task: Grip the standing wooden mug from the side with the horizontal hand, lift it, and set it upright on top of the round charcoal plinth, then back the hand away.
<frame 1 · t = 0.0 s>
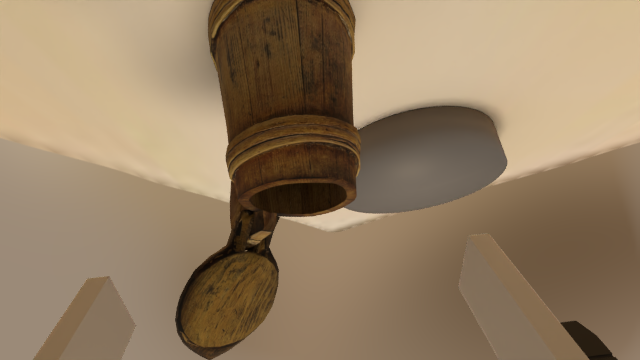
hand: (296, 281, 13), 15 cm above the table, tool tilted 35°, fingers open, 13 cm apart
wooden mug: (261, 53, 23), on the table
charcoal plinth: (409, 154, 39), on the table
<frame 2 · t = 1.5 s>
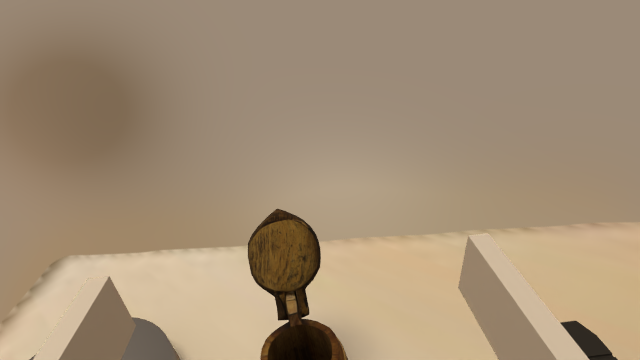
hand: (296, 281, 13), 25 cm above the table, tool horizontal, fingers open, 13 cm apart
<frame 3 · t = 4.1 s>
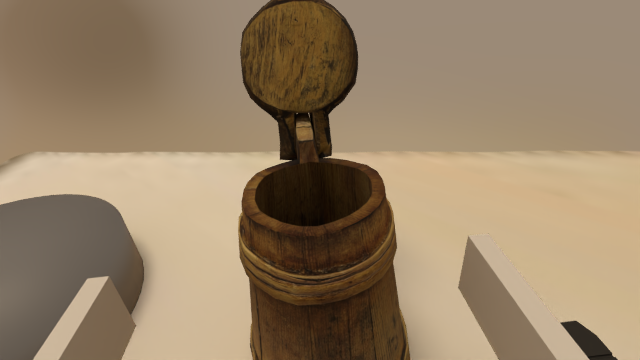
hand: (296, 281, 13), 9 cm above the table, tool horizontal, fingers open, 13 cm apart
wooden mug: (326, 314, 22), on the table
charcoal plinth: (1, 319, 23), on the table
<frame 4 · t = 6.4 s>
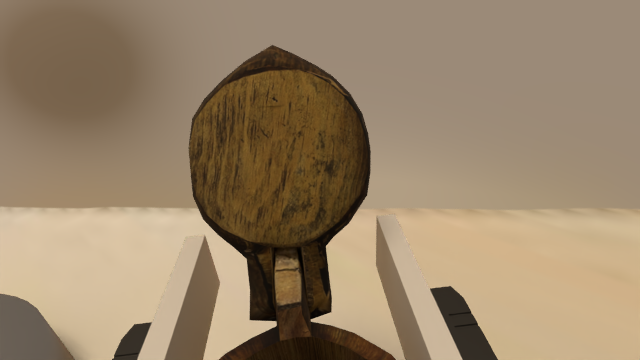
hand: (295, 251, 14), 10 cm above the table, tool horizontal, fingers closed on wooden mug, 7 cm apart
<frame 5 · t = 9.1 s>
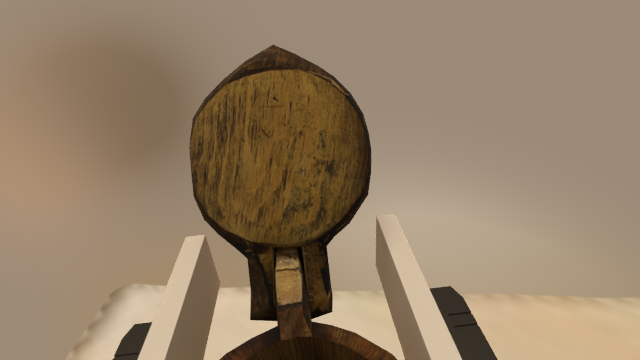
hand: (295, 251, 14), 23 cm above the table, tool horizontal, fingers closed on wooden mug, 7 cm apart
when the fingers open (16 cm above the table, at t = 11.8 s): wooden mug drops 1 cm, resting on charcoal plinth.
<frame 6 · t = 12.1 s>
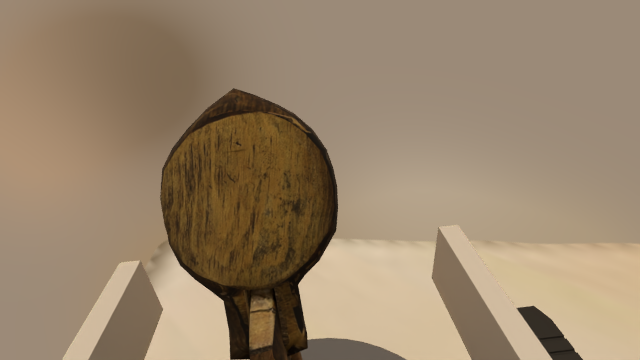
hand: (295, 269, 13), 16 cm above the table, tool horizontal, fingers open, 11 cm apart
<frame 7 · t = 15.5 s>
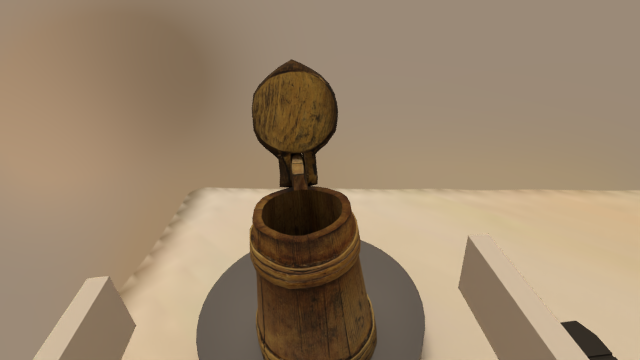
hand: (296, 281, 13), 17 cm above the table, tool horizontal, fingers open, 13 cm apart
wooden mug: (315, 306, 28), point 4 cm above the table, touching charcoal plinth
charcoal plinth: (313, 334, 30), on the table
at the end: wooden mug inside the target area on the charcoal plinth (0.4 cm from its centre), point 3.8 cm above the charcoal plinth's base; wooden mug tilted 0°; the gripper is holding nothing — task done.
